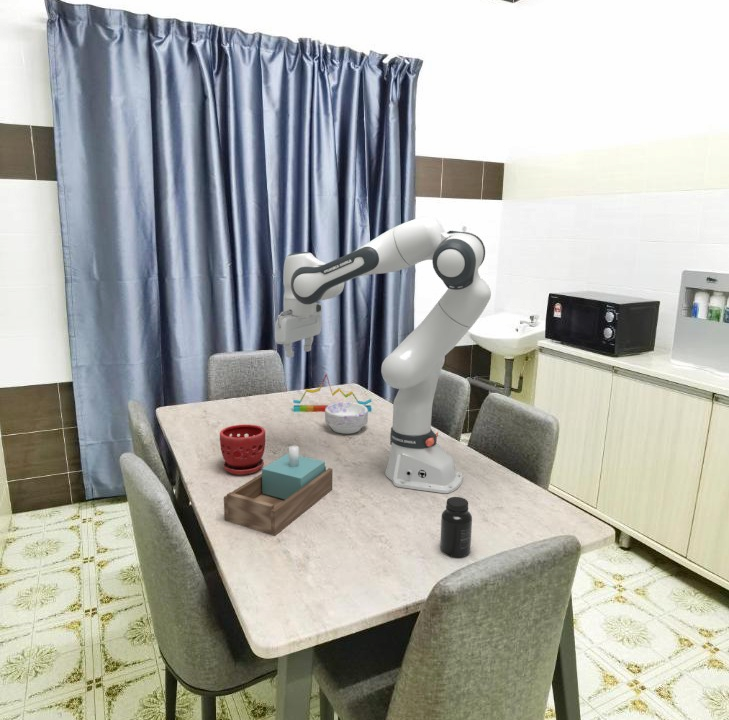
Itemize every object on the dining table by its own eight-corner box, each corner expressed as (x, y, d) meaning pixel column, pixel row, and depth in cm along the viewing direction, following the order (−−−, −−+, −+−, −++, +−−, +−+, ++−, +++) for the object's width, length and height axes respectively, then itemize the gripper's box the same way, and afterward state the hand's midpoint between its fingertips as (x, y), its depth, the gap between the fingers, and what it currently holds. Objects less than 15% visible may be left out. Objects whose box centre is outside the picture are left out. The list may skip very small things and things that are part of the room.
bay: (332, 489, 156) (332, 465, 154) (275, 535, 132) (274, 507, 131) (286, 478, 162) (286, 454, 161) (224, 520, 139) (223, 493, 137)
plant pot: (274, 469, 168) (274, 430, 165) (236, 482, 159) (235, 442, 156) (250, 455, 177) (249, 419, 174) (212, 467, 168) (210, 429, 166)
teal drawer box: (325, 485, 155) (325, 444, 152) (301, 503, 144) (301, 460, 141) (288, 475, 160) (287, 435, 157) (262, 493, 149) (261, 450, 147)
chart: (370, 409, 225) (371, 373, 222) (371, 412, 222) (372, 375, 218) (293, 409, 223) (293, 372, 219) (293, 412, 220) (293, 375, 216)
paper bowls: (352, 440, 192) (353, 418, 190) (316, 431, 199) (316, 409, 198) (375, 427, 204) (376, 406, 203) (340, 419, 212) (340, 399, 210)
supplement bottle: (466, 541, 132) (470, 494, 129) (473, 558, 125) (476, 509, 122) (437, 541, 131) (440, 494, 129) (442, 558, 125) (445, 508, 122)
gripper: (287, 313, 156) (288, 362, 159) (325, 305, 174) (325, 349, 177) (268, 311, 158) (269, 359, 162) (307, 303, 176) (307, 346, 179)
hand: (298, 354), depth 169 cm, fingers open, 8 cm apart
